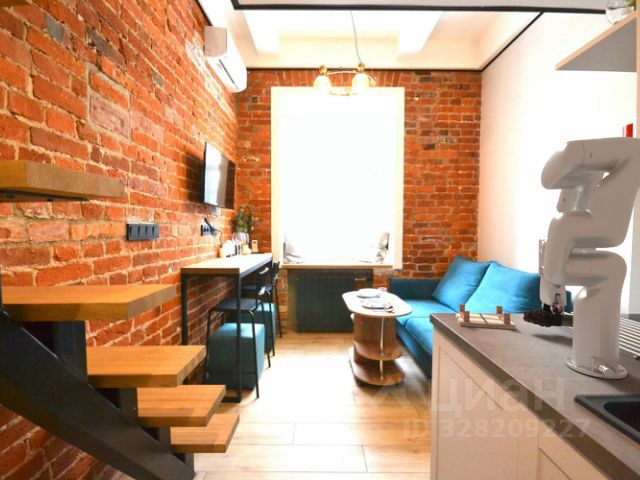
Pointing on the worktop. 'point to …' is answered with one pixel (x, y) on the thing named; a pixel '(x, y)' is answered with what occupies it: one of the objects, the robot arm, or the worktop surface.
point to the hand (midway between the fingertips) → (551, 322)
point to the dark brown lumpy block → (545, 318)
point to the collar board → (484, 319)
